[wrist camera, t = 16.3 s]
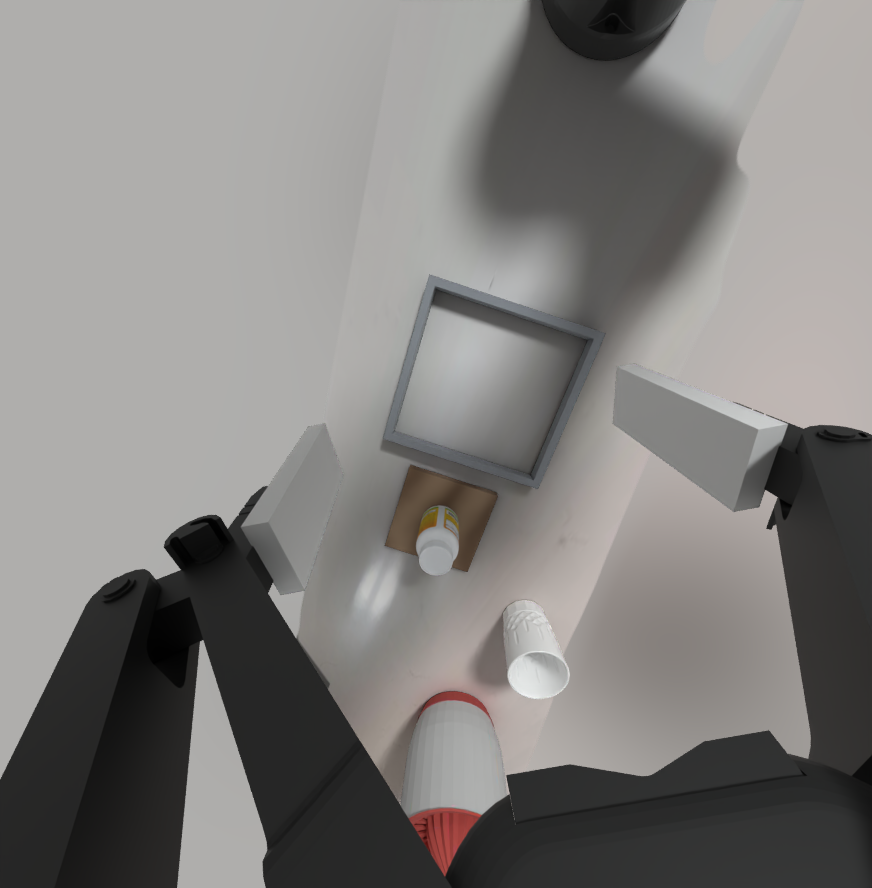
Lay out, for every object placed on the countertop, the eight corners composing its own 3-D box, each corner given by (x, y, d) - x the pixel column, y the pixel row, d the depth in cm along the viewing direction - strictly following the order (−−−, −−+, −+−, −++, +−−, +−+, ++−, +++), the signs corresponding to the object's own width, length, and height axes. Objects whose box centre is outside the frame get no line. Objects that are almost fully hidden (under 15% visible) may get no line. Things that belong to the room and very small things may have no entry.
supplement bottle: (419, 535, 49) (410, 578, 39) (423, 501, 47) (415, 537, 38) (456, 540, 48) (455, 584, 39) (461, 507, 47) (462, 544, 38)
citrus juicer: (396, 736, 61) (367, 913, 41) (429, 667, 56) (413, 830, 37) (476, 764, 61) (483, 952, 42) (514, 698, 57) (543, 874, 37)
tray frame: (598, 334, 41) (605, 333, 39) (534, 483, 47) (537, 489, 45) (430, 278, 41) (429, 274, 39) (386, 435, 46) (382, 438, 44)
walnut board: (496, 492, 47) (497, 496, 46) (467, 567, 51) (467, 572, 50) (410, 464, 47) (409, 467, 46) (386, 541, 50) (384, 545, 49)
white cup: (498, 595, 52) (507, 650, 42) (550, 596, 51) (571, 652, 41) (498, 637, 54) (507, 698, 44) (548, 638, 53) (568, 700, 43)
